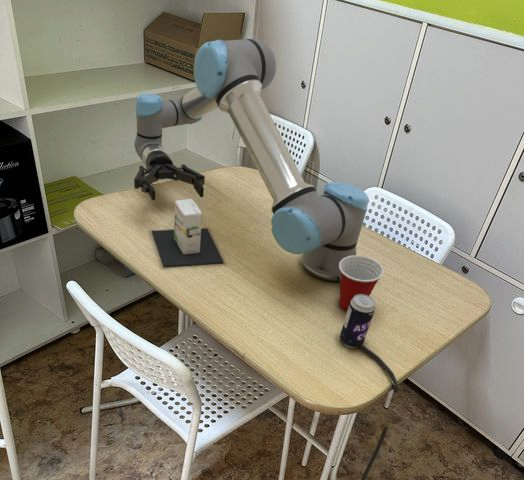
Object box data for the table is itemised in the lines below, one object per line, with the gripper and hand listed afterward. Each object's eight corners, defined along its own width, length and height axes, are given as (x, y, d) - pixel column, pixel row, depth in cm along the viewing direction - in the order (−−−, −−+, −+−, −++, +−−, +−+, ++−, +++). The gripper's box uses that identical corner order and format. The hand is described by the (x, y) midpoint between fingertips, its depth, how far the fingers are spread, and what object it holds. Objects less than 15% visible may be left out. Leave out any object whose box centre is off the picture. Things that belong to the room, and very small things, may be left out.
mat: (223, 263, 139) (223, 261, 139) (163, 267, 134) (163, 265, 134) (207, 229, 151) (207, 228, 151) (151, 232, 146) (151, 230, 146)
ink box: (173, 238, 144) (173, 199, 136) (190, 237, 146) (191, 197, 138) (183, 255, 139) (184, 214, 131) (200, 252, 141) (202, 212, 133)
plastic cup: (321, 297, 133) (331, 256, 126) (355, 291, 138) (367, 251, 130) (342, 322, 127) (355, 282, 119) (378, 315, 131) (393, 275, 123)
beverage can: (346, 352, 118) (360, 310, 111) (334, 336, 122) (346, 294, 114) (367, 347, 121) (381, 306, 113) (354, 332, 124) (368, 291, 116)
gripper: (197, 172, 163) (220, 203, 149) (116, 176, 153) (132, 210, 139) (198, 148, 158) (222, 178, 144) (114, 151, 148) (131, 183, 134)
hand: (178, 194), depth 141 cm, fingers open, 13 cm apart
